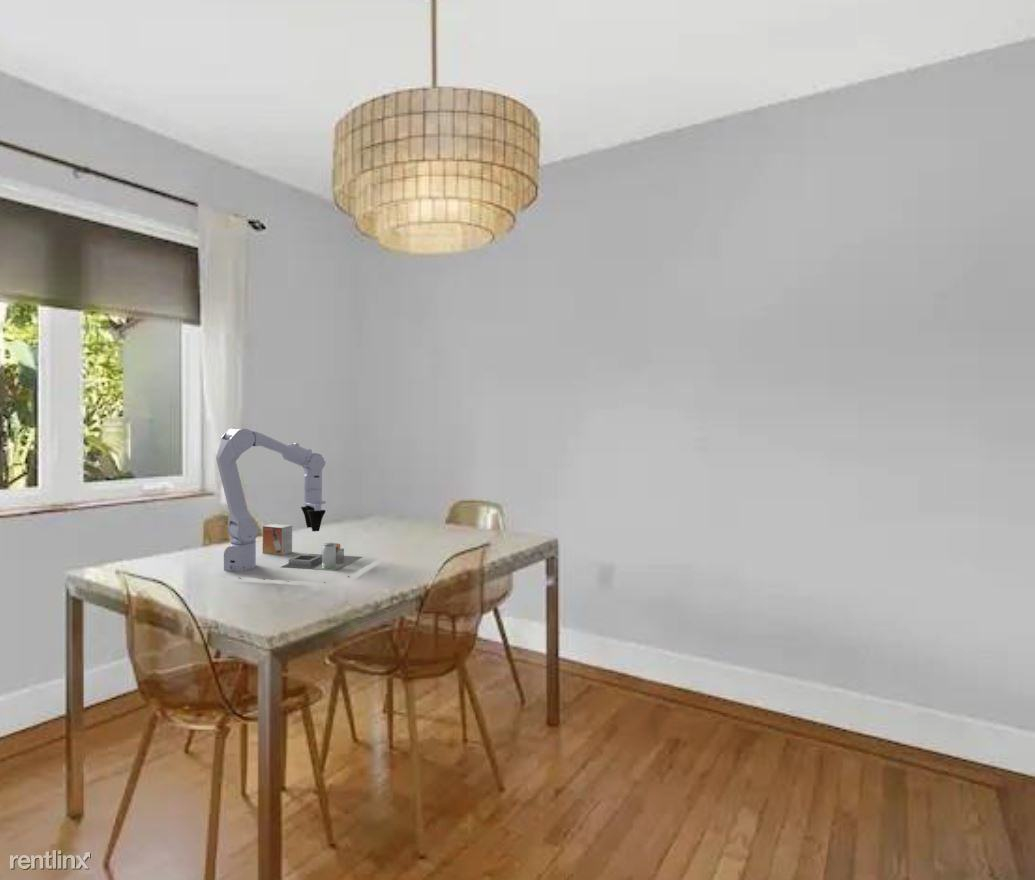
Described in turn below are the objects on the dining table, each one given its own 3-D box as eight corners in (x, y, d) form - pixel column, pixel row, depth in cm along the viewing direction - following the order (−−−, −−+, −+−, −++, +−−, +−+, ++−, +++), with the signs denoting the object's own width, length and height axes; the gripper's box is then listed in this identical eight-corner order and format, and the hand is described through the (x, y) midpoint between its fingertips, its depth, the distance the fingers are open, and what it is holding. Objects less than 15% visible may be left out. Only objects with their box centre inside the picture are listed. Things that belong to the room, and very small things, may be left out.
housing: (337, 574, 197) (337, 560, 196) (280, 571, 200) (280, 557, 200) (362, 560, 215) (362, 547, 215) (309, 557, 218) (309, 544, 218)
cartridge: (336, 567, 200) (336, 544, 200) (323, 568, 198) (323, 545, 198) (334, 564, 203) (334, 541, 203) (321, 565, 202) (321, 542, 201)
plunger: (337, 558, 209) (337, 546, 209) (326, 558, 210) (326, 545, 209) (342, 556, 213) (342, 543, 212) (331, 555, 213) (331, 543, 213)
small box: (262, 556, 218) (262, 525, 218) (273, 553, 224) (273, 523, 223) (281, 558, 216) (281, 527, 215) (292, 555, 221) (292, 524, 221)
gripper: (330, 490, 210) (330, 531, 211) (319, 485, 223) (319, 524, 223) (308, 491, 207) (308, 533, 207) (298, 486, 219) (298, 526, 220)
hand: (313, 529), depth 215 cm, fingers open, 7 cm apart
